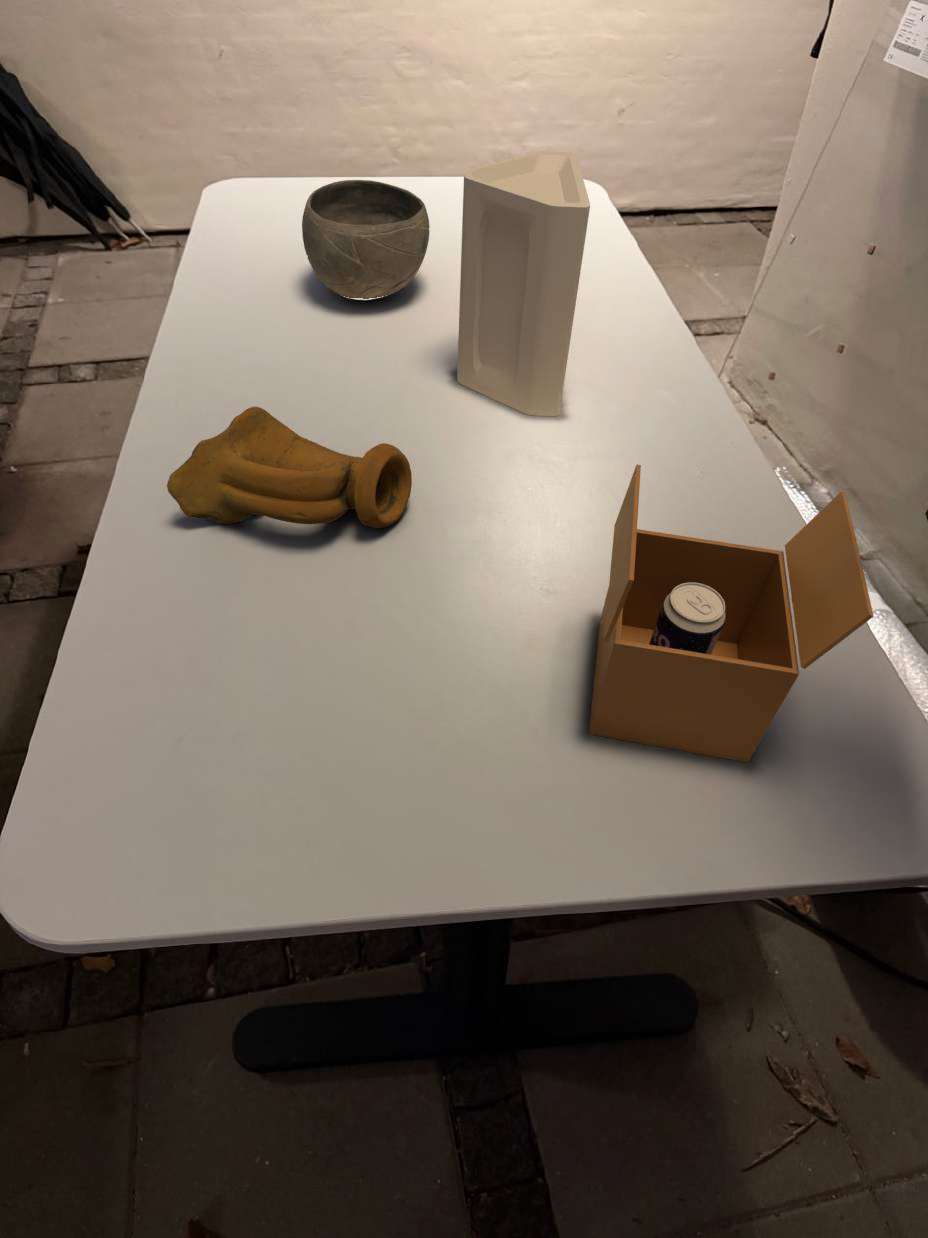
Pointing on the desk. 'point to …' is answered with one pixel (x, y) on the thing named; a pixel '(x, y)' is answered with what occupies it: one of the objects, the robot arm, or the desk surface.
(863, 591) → the flap
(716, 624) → the beverage can
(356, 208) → the bowl
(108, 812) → the desk surface
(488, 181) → the tall recessed triangular prism
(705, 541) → the carton
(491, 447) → the desk surface
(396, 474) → the brown looped sculpture
